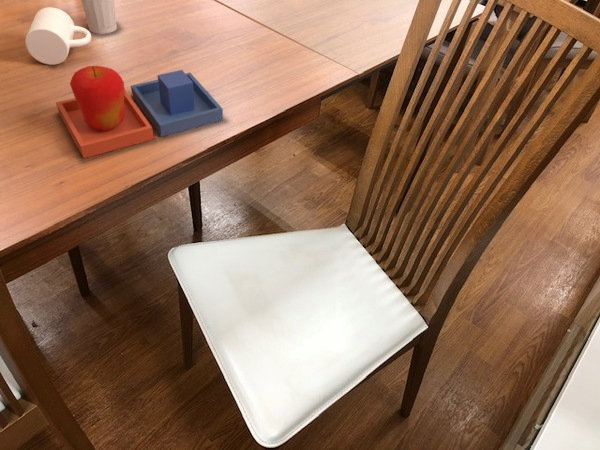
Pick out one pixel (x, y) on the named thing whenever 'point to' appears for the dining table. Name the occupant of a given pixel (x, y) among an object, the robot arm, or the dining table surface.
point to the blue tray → (170, 124)
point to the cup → (100, 15)
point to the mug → (53, 36)
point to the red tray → (99, 141)
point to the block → (176, 92)
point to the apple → (99, 96)
